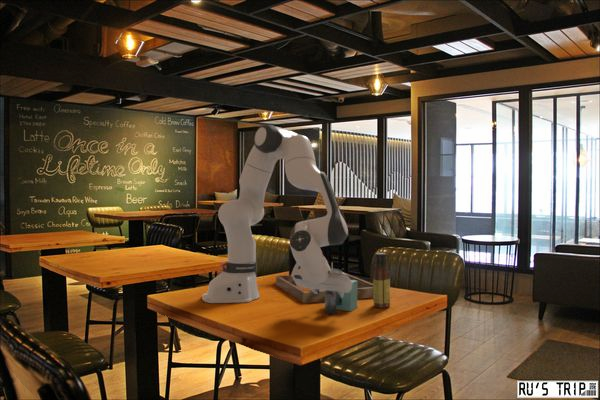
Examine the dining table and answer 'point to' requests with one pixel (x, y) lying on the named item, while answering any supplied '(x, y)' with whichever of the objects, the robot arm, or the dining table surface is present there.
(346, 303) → the eye block
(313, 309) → the dining table surface
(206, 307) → the dining table surface
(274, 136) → the robot arm
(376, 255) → the sauce bottle
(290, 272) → the portable speaker
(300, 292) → the tray frame
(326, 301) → the dark piece
